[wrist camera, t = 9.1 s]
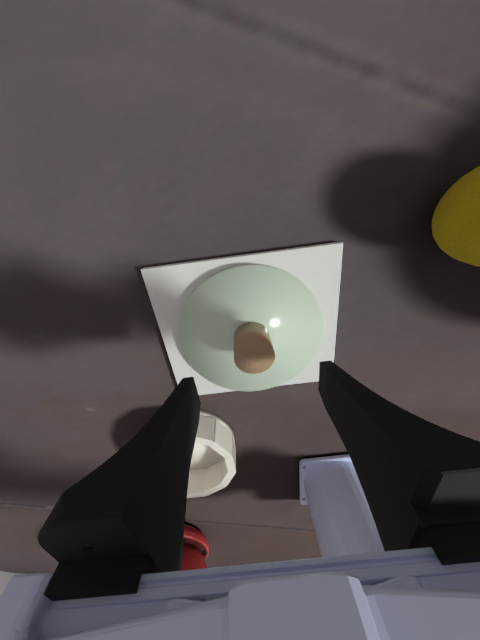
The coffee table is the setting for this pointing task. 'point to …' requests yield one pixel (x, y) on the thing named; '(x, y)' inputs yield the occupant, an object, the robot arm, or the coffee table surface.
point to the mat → (302, 262)
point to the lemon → (460, 220)
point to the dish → (211, 456)
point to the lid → (250, 327)
